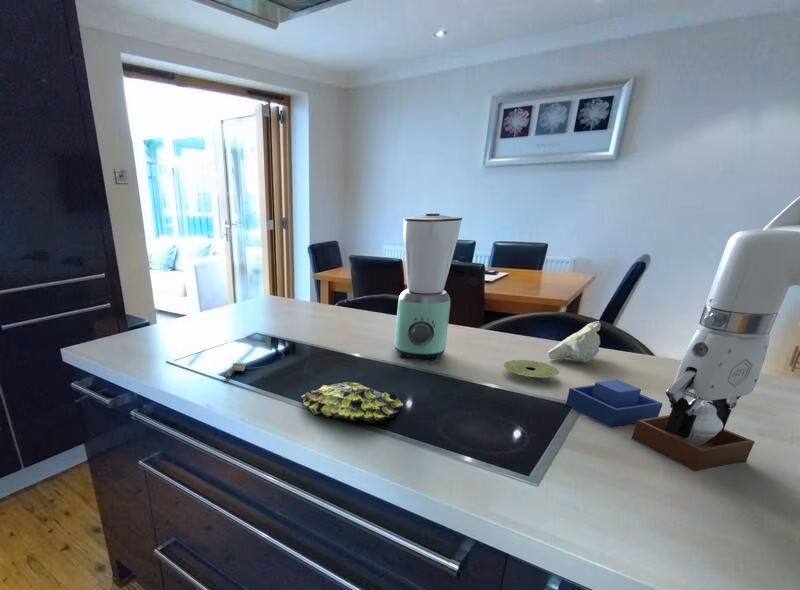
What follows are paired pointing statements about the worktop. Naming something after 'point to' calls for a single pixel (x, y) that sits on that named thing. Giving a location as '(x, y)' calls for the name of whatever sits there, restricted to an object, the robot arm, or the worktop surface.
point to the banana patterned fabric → (352, 402)
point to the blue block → (616, 393)
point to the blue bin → (611, 408)
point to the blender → (426, 285)
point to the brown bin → (706, 456)
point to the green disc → (531, 368)
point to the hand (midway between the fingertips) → (693, 429)
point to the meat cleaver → (235, 369)
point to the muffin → (704, 425)
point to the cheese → (578, 344)
